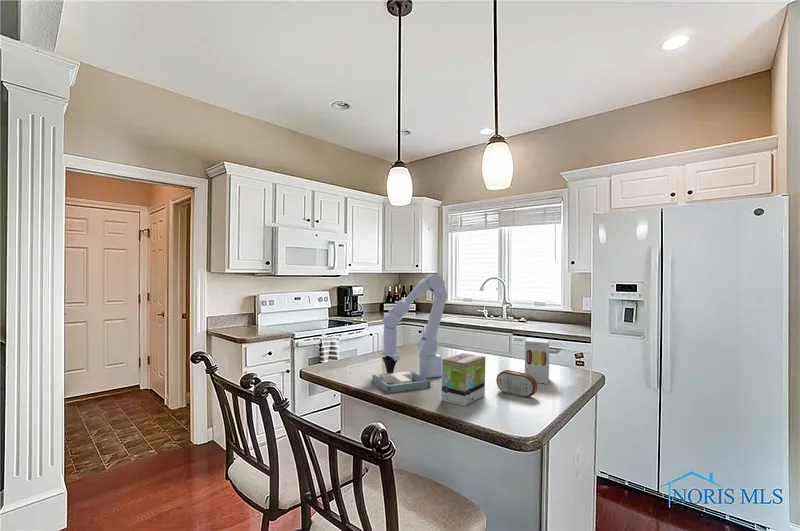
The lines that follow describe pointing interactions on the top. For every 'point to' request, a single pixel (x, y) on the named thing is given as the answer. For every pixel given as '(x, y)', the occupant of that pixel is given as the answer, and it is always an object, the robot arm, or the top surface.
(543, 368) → the supplement box
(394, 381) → the t block
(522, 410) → the top surface
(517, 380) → the tin
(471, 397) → the tea box
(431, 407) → the top surface
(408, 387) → the shallow grey tray
